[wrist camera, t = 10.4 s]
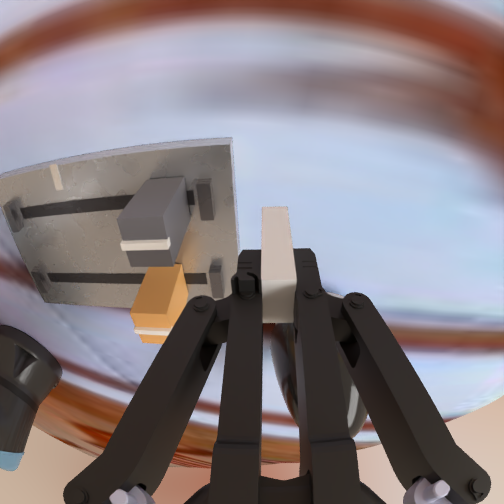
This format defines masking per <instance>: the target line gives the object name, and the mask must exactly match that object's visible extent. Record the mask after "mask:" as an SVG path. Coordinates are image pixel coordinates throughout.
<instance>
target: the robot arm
mask: <svg viewBox="0 0 504 504" xmlns="http://www.w3.org/2000/svg"><path fill="white" fill-rule="evenodd" d="M231 289H232V294H230V295H229V296H228V297H226V298H223V299H220V300H216V301H215V300H214V299H213V298H212V297H209V296H207V295H199V296H195V297H193V298H192V299H190V300H189V301H188V302H187V304H186V306H185V307H184V309H183V311H182V312H181V314H180V316H179V318H178V319H177V321H176V323H175V324H174V326H173V328H172V330H171V331H170V333H169V335H168V336H167V338H166V340H165V342H164V343H163V345H162V347H161V349H160V350H159V352H158V354H157V356H156V357H155V359H154V361H153V363H152V364H151V366H150V368H149V370H148V371H147V373H146V375H145V377H144V378H143V380H142V382H141V384H140V386H139V387H138V389H137V391H136V393H135V394H134V396H133V398H132V400H131V402H130V403H129V405H128V407H127V409H126V411H125V413H124V414H123V416H122V418H121V420H120V422H119V424H118V425H117V427H116V429H115V431H114V433H113V435H112V436H111V438H110V440H109V442H108V444H107V446H106V448H105V450H104V451H103V453H102V454H101V455H100V456H99V457H98V458H97V459H95V460H94V461H93V462H92V463H91V464H90V465H89V466H88V467H86V468H85V469H84V470H83V471H82V472H81V473H79V474H78V475H77V476H76V477H75V478H74V479H72V480H71V481H70V482H69V483H68V484H67V486H66V487H65V489H64V493H63V497H64V501H65V503H66V504H155V502H154V500H153V498H152V497H151V496H152V495H153V493H154V492H155V491H156V489H157V488H158V486H159V485H160V483H161V481H162V479H163V477H164V475H165V473H166V471H167V469H168V467H169V464H170V462H171V460H172V458H173V455H174V453H175V451H176V449H177V446H178V444H179V442H180V440H181V437H182V435H183V433H184V431H185V428H186V426H187V424H188V421H189V419H190V417H191V415H192V412H193V410H194V408H195V405H196V403H197V401H198V399H199V396H200V394H201V392H202V389H203V387H204V385H205V383H206V380H207V378H208V376H209V373H210V371H211V369H212V367H213V364H214V362H215V360H216V357H217V355H218V353H219V350H220V348H221V346H222V343H225V342H227V346H226V355H225V365H224V374H223V384H222V394H221V404H220V414H219V425H218V435H217V441H216V442H215V444H214V448H213V456H212V466H211V478H210V483H209V484H207V485H205V486H203V487H202V488H201V489H199V490H198V491H197V492H196V493H195V494H194V495H193V496H191V498H189V499H188V500H187V501H186V502H185V503H184V504H386V503H385V502H384V501H383V500H382V499H381V498H379V497H378V496H377V495H376V494H375V493H374V492H373V491H372V490H371V489H370V488H369V487H368V486H366V485H365V484H364V483H362V482H361V481H360V479H359V470H358V460H357V452H356V446H355V442H354V440H353V439H352V438H351V437H350V434H349V427H348V419H347V412H346V405H345V398H344V391H343V385H342V378H341V372H340V366H339V360H338V354H337V349H338V351H339V353H340V355H341V357H342V359H343V361H344V363H345V365H346V367H347V370H348V372H349V374H350V376H351V378H352V380H353V382H354V384H355V386H356V389H357V391H358V393H359V395H360V397H361V399H362V401H363V403H364V406H365V408H366V410H367V412H368V414H369V417H370V419H371V421H372V423H373V425H374V427H375V430H376V432H377V434H378V436H379V439H380V441H381V443H382V445H383V447H384V449H385V452H386V454H387V457H388V459H389V461H390V463H391V466H392V468H393V470H394V472H395V474H396V476H397V478H398V480H399V481H400V483H401V484H402V486H403V487H404V488H405V489H406V493H405V495H404V499H403V504H476V503H479V502H481V501H483V500H484V498H486V497H487V495H488V493H489V491H490V488H491V480H490V476H489V475H488V474H487V472H486V471H485V470H484V469H482V468H481V467H480V466H479V465H478V464H477V463H476V462H475V461H474V460H473V459H472V458H470V457H469V456H468V455H467V454H466V453H465V452H464V451H463V450H462V449H461V448H459V447H458V446H457V445H456V443H455V442H454V440H453V438H452V436H451V434H450V432H449V430H448V428H447V426H446V424H445V423H444V421H443V419H442V417H441V415H440V413H439V412H438V410H437V408H436V406H435V404H434V403H433V401H432V399H431V397H430V396H429V394H428V392H427V390H426V389H425V387H424V385H423V383H422V382H421V380H420V378H419V377H418V375H417V373H416V372H415V370H414V368H413V367H412V365H411V363H410V362H409V360H408V358H407V357H406V355H405V353H404V352H403V350H402V348H401V347H400V345H399V344H398V342H397V340H396V339H395V337H394V336H393V334H392V333H391V331H390V329H389V328H388V326H387V325H386V323H385V322H384V320H383V318H382V317H381V315H380V314H379V312H378V311H377V309H376V308H375V306H374V305H373V303H372V302H371V300H370V299H369V298H368V297H367V296H366V295H364V294H362V293H357V292H354V293H349V294H347V295H346V296H345V297H344V298H339V297H334V296H331V295H329V294H328V293H326V292H325V290H324V288H322V285H321V280H320V276H319V271H318V267H317V262H316V257H315V254H314V253H313V251H312V250H311V249H310V248H301V249H293V245H292V238H291V230H290V223H289V215H288V208H287V207H262V245H261V250H242V252H241V253H240V254H239V256H238V264H237V272H236V273H235V274H234V275H233V276H232V278H231ZM293 321H294V332H293V341H294V346H295V361H296V377H297V395H298V414H299V437H300V471H299V472H300V473H299V477H297V478H293V479H289V480H278V479H273V478H268V477H264V476H261V432H262V362H263V323H293ZM336 347H337V348H336ZM61 376H62V369H61V367H60V365H59V364H58V362H57V361H56V359H55V358H54V357H53V356H52V355H51V354H50V353H49V352H48V351H47V350H46V349H45V348H44V347H43V346H42V345H40V344H39V343H38V342H36V341H35V340H34V339H32V338H31V337H29V336H28V335H26V334H24V333H23V332H21V331H19V330H17V329H15V328H12V327H9V326H0V468H2V469H4V470H7V471H14V470H16V469H17V468H18V466H19V463H20V460H21V458H22V455H24V449H25V445H26V442H27V439H28V436H29V433H30V430H31V427H32V424H33V421H34V419H35V416H36V413H37V410H38V408H39V405H40V404H41V403H42V401H43V400H44V399H45V398H46V397H47V395H48V394H49V393H50V391H51V390H52V389H53V388H55V387H56V386H57V385H58V383H59V381H60V378H61Z"/></svg>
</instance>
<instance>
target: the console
mask: <svg viewBox="0 0 504 504" xmlns="http://www.w3.org/2000/svg"><path fill="white" fill-rule="evenodd" d="M173 177H184V178H185V185H186V192H187V199H188V205H189V212H190V218H191V220H190V222H189V225H188V228H187V230H186V233H185V236H184V239H183V241H182V244H181V247H180V250H179V253H178V256H177V258H176V261H175V264H182V268H183V272H184V277H185V281H186V286H187V290H188V298H187V302H188V301H189V300H190V299H192V298H193V297H195V296H199V295H207V296H209V297H212V298H213V299H214V300H215V301H216V300H220V299H223V298H226V297H228V296H229V295H230V294H232V289H231V278H232V276H233V275H234V274H235V273H236V272H237V264H238V256H239V254H240V244H239V230H238V216H237V201H236V187H235V172H234V156H233V141H232V137H230V138H213V139H199V140H187V141H176V142H166V143H157V144H149V145H141V146H133V147H126V148H119V149H113V150H106V151H100V152H94V153H89V154H83V155H78V156H73V157H68V158H63V159H58V160H54V161H49V162H45V163H40V164H36V165H32V166H28V167H24V168H20V169H16V170H13V171H9V172H5V173H3V174H2V175H0V205H1V208H2V210H3V213H4V216H5V218H6V221H7V223H8V226H9V228H10V231H11V233H12V236H13V238H14V240H15V243H16V245H17V247H18V250H19V252H20V254H21V256H22V258H23V260H24V263H25V265H26V267H27V269H28V271H29V273H30V275H31V277H32V279H33V281H34V283H35V285H36V287H37V289H38V290H39V292H40V294H41V296H42V298H43V300H44V301H45V302H46V303H59V304H72V305H87V306H103V307H123V308H132V306H133V303H134V301H135V298H136V296H137V294H138V291H139V289H140V286H141V284H142V282H143V279H144V277H145V274H146V272H147V270H148V267H131V266H130V263H129V260H128V256H127V253H126V251H122V249H121V245H120V243H121V242H122V237H121V233H120V230H119V226H118V223H117V218H118V216H119V215H120V214H121V212H122V211H123V210H124V208H125V207H126V206H127V204H128V203H129V202H130V200H131V199H132V198H133V196H134V195H135V194H136V192H137V191H138V190H139V189H140V187H141V186H142V185H143V184H144V182H145V181H146V180H149V179H160V178H173ZM187 302H186V304H187Z"/></svg>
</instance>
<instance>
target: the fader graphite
mask: <svg viewBox="0 0 504 504" xmlns="http://www.w3.org/2000/svg"><path fill="white" fill-rule="evenodd" d="M190 220H191V218H190V212H189V205H188V199H187V192H186V185H185V178H184V177H173V178H160V179H149V180H146V181H145V182H144V184H143V185H142V186H141V187H140V189H139V190H138V191H137V192H136V194H135V195H134V196H133V198H132V199H131V200H130V202H129V203H128V204H127V206H126V207H125V208H124V210H123V211H122V212H121V214H120V215H119V216H118V218H117V223H118V226H119V230H120V233H121V237H122V242H121V243H120V245H121V249H122V251H126V253H127V256H128V260H129V263H130V266H131V267H174V264H175V261H176V258H177V256H178V253H179V250H180V247H181V244H182V241H183V239H184V236H185V233H186V230H187V228H188V225H189V222H190Z"/></svg>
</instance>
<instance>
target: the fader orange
mask: <svg viewBox="0 0 504 504" xmlns="http://www.w3.org/2000/svg"><path fill="white" fill-rule="evenodd" d="M187 298H188V290H187V286H186V281H185V277H184V272H183V268H182V264H174V267H148V270H147V272H146V274H145V277H144V279H143V282H142V284H141V286H140V289H139V291H138V294H137V296H136V298H135V301H134V303H133V306H132V308H131V311H130V315H131V317H132V320H133V322H134V324H135V328H134V331H135V334H139V336H140V338H141V340H142V342H143V343H156V344H163V343H164V342H165V340H166V338H167V336H168V335H169V333H170V331H171V330H172V328H173V326H174V324H175V323H176V321H177V319H178V318H179V316H180V314H181V312H182V311H183V309H184V307H185V306H186V302H187Z"/></svg>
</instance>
